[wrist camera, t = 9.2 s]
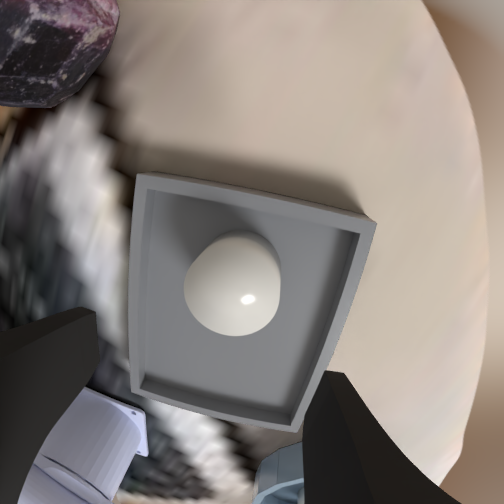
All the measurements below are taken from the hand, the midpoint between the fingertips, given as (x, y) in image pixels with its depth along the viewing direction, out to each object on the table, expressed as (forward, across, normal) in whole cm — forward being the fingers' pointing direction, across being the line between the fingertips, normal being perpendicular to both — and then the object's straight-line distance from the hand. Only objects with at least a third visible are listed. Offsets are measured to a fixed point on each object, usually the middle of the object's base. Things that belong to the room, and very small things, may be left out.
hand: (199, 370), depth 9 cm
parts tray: (+10, 0, +3) cm, 10 cm away
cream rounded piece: (+9, 0, 0) cm, 9 cm away
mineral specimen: (+10, +14, -13) cm, 21 cm away
